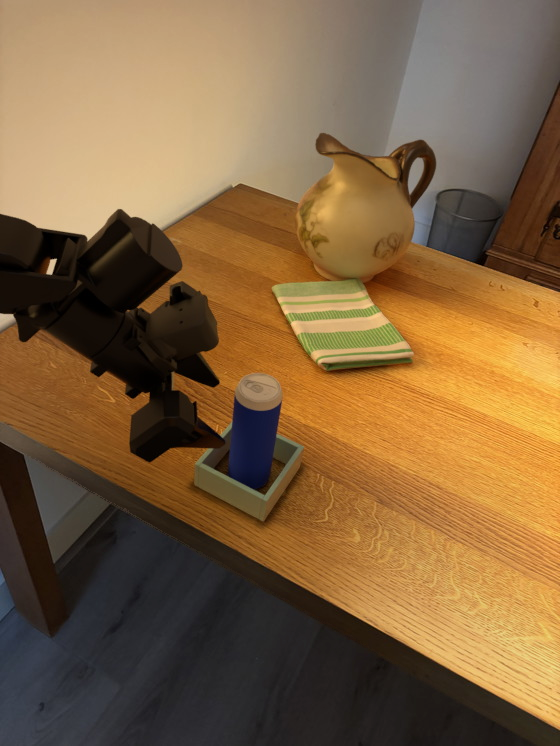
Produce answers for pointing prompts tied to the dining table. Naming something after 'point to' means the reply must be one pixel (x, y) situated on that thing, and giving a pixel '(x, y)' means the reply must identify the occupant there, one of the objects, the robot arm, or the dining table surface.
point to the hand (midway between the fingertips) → (219, 413)
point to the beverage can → (254, 429)
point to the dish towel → (341, 325)
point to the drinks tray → (239, 492)
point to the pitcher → (361, 209)
